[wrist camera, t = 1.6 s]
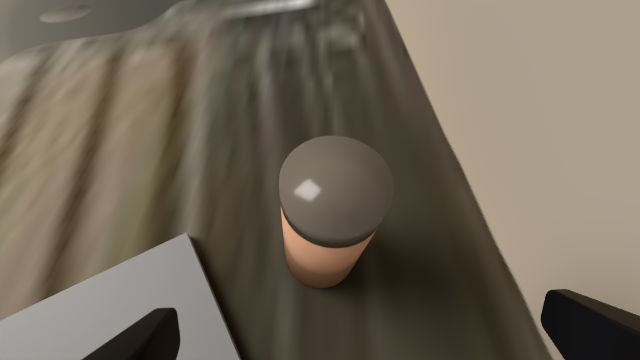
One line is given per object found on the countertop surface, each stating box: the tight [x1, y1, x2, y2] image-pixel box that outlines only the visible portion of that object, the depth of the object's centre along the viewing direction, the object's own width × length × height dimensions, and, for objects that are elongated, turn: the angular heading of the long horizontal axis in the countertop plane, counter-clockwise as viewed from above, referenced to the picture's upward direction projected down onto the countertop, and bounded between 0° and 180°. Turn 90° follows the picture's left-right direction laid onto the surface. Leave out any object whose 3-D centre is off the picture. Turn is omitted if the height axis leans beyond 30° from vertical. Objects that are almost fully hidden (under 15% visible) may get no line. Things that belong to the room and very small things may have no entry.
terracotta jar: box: [279, 136, 394, 288], centre depth 17 cm, size 5×5×10 cm
